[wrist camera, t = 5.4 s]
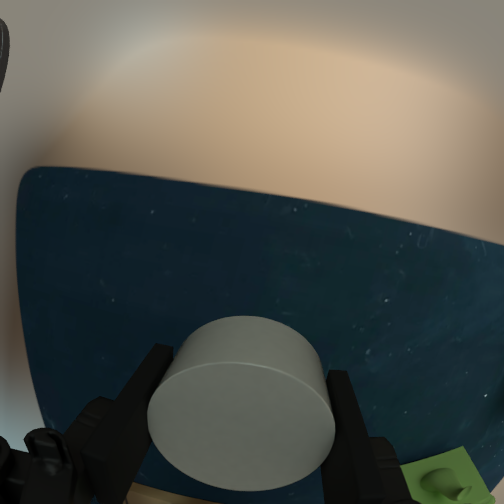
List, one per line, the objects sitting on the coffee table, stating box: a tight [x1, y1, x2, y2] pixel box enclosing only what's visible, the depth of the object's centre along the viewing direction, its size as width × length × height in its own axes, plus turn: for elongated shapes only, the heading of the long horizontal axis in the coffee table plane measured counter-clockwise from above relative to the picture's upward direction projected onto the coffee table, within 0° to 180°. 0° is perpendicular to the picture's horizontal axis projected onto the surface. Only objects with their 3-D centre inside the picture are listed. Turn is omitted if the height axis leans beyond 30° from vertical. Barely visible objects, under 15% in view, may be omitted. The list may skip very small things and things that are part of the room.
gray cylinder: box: [147, 316, 336, 491], centre depth 11 cm, size 6×6×4 cm
